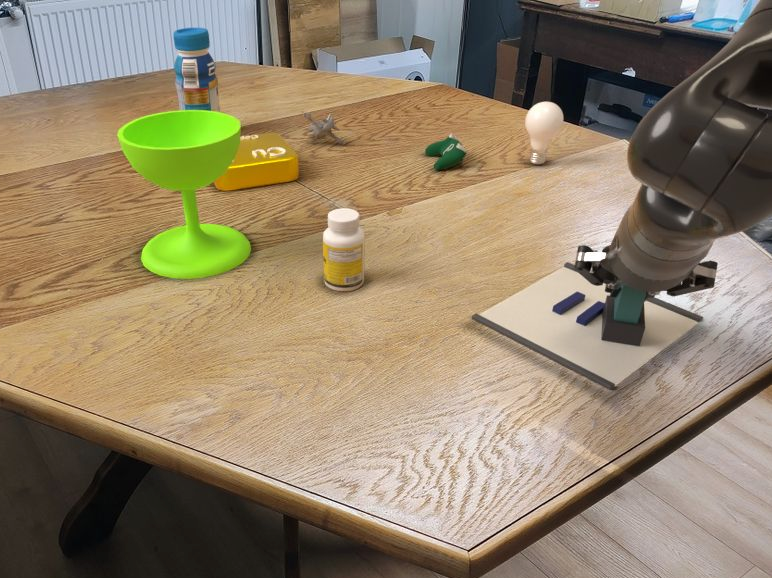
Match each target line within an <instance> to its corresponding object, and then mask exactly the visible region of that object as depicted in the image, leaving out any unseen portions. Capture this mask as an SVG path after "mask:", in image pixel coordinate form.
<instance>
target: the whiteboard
mask: <svg viewBox="0 0 772 578" xmlns="http://www.w3.org/2000/svg"><path fill="white" fill-rule="evenodd" d="M574 267H575V263H571V262H568V261H567V262H565V263H564V264H563V266H562V267H560V268H559V269H557V270H555V271H553V272H551V273H550V274H548V275H546V276H543V278H541V279H539V280H537V281H535V282H533V283H532V284H530V285H529V286H527V287H525V288H523V289H521V290H519V291H517V292H516V293H514V294H512V295H511V296H509V297H507V298H505V299H504V300H502V301H500V302H498V303H497V304H495V305H492V306H491V307H489V308H487V309H486V310H484V311H482V312H480V313H474V314H472V316H471V320H473V321H475V322H476V323H479V324H480V325H482V326H485V327H487V328H489V329H491V330H492V331H493V332H496V333H498V334H500V335H502V336H504V337H506V338H508V339H510V340H512V341H513V342H515V343H518V344H519V345H522V346H523V347H525V348H527V349H529V350H532V352H535V353H537V354H539V355H540V356H542V357H545V358H547V359H549V360H551V361H552V362H555V363H556V364H558V365H560V366H562V367H565V368H566V369H568V370H570V371H572V372H574V373H576V374H578V375H580V376H581V377H584V378H585V379H588V380H589V381H591V382H592V383H595V384H597V385H599V386H601V387H602V388H604V389H607V390H608V391H611V390H613V389H614V388H616V387H617V386H618V385H619V384H621V383H622V382H623V381H625V380H626V379H628V378H629V377H630V376H631V375H632V374H634V373H635V372H637V371H638V370H639V369H641V368H642V367H644V365H646V364H647V363H648V362H650V361H652V359H654V358H655V357H656V356H658V355H659V354H661V352H663V351H664V350H665V349H667V348H668V347H669V346H671V345H672V344H673V343H674V342H676V341H677V340H678V339H679V338H682V336H684V335H685V334H687V333H688V332H690V330H691V329H693V328H694V327H695V326H697V325H698V324H699V323H700V322H702V321H703V318H704V316H702V315H701V314H700V315H699V314H697V313H694V312H692V311H690V310H687V309H685V308H682V307H680V306H678V305H674V304H673V303H670V302H667V301H665V300H662V299H661V298H657V297H656V296H655V297H654V298H651V299H650V298H648V299H647V300H646V301H645V302H644V311H645V331H644V334H643V337H642V340H641V344H640V346H635V345H629V344H622V343H616V342H610V341H604V340H601V336H602V313H601V314H600V315H599V316H597V317H596V318H595V319H593V320H592V321H591V322H590V323H588V324H587V325H586V326H584V325H581V324H579V323H577V322H576V320H577V317H578V316H579V315H580V314H582V313H583V312H584V311H586V310H587V309H588V308H590V307H591V306H592V305H594V304H595V303H596V302H598V301H600V302H603V303H605V301H606V297H607V295H609V296H610V293H608V292H605V286H606V283H603V285H601V286H595V285H593V284H591V283H590V282H589V281H587V280H586V279H585V278H584V277H583V276H582V275H580V274H579V273H578V272H577V271H576V270H574ZM575 292H580V293H582V294H584V295H586V296H585V300H584V301H582V302H581V303H579V304H578V305H576V306H574V307H573V308H571V309H570V310H568V311H566V312H565V313H563V314H562V315H559V314H557V313H555V312H553V311H552V310H553V306H554V305H555V304H557V303H559V302H560V301H562V300H564V299H565V298H567V297H569V296H570V295H572V294H574V293H575Z"/></svg>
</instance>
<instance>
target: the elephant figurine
mask: <svg viewBox="0 0 772 578" xmlns="http://www.w3.org/2000/svg"><path fill="white" fill-rule="evenodd" d="M303 117H304V118H305V119H307V121H310V122H311V123H312V124H310V125H309V126H308V129H307V130H308V132H309V133H312V132H313V134H314V138H313V139H312V140H311V141H310V142H311V143H310V144H313V143H314V142H315V141H316V140H317V139H324V138H326V137H327V136H328V137H331V138H332V139H334V140H335V141H336V142H337V143H338V144H340V145H341V146H344V145H345V144H346V142H345V141H344V140H343V139H344V136H342V137H339V136H337V135H335V134H334V133H333V131H332V129H333V130H334V131H338V132H340V128H339V127H338V126H336V125H335V123H334V122H335V120H336V119H337V117H334V116H332V113H329V115H328V116H327V118H325V117H323V116H322V117H321V121H317V120H316V119H314V118H313V117H312V116H311V111H309V113H307V111H305V112H303Z"/></svg>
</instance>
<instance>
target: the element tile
mask: <svg viewBox="0 0 772 578" xmlns="http://www.w3.org/2000/svg"><path fill="white" fill-rule="evenodd" d="M299 173H300V172H299V154H298V153H297V152H296V151H295V149H293V147H292V146H291V145H290V144H289V143H288V142H287V141H286V140H285V139H284V137H283V136H282V135H280V134H279V133H277V132H265V133H257V134H251V135H242V136H241V135H240V145H239V148H238V151H237V154H236V157H235V158H234V160H233V162H232V163H231V165H230V166H229V167H228V169H227V170H226V172H225V173H224V174H223V175H222V176H220V177H219V178H218V179H216V180H215V181H214V182H213V183H212V184H214V186H215V188H216V189H217V190H219V191H223V192H231V191H238V190H244V189H252V188H257V187H259V188H260V187H265V186H273V185H278V184H285V183H290V182H294V181H296V180H298V179H299V177H300V174H299Z"/></svg>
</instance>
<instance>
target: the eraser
mask: <svg viewBox="0 0 772 578" xmlns="http://www.w3.org/2000/svg"><path fill="white" fill-rule="evenodd" d="M645 296H646V292H644V291H640V290H636V289H634V288H631V287H629V286H627V287H625V288H621V290H620V292H619V293H618V295H617V297H610V296H609V295H607V297H606V301H605V305H604V309H603V313H602V336H601V340H604V341H610V342H616V343H622V344H629V345H635V346H640V344H641V340H642V337H643V334H644V331H645V311H644V299H645Z"/></svg>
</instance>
